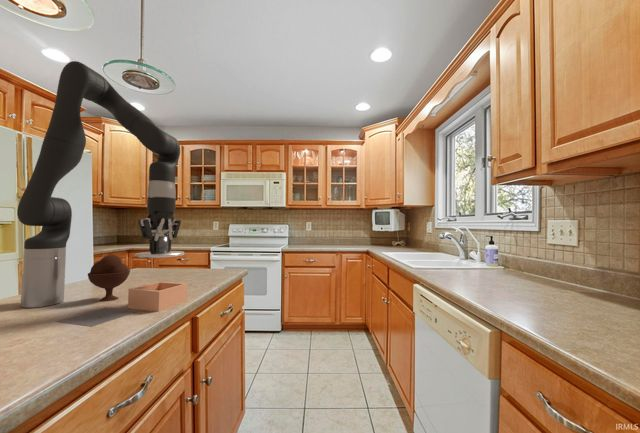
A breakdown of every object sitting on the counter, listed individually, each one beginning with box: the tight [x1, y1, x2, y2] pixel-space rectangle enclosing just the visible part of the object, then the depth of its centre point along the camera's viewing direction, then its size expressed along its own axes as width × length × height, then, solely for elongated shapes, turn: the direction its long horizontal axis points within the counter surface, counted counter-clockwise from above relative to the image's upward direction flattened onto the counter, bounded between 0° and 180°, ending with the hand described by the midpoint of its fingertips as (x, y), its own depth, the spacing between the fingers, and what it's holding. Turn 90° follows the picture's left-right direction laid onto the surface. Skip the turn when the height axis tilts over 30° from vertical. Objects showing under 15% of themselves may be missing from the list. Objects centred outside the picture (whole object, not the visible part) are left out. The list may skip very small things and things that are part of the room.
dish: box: [127, 281, 189, 312], centre depth 82 cm, size 11×11×6 cm
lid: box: [134, 235, 185, 259], centre depth 83 cm, size 13×13×6 cm
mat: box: [55, 307, 139, 328], centre depth 71 cm, size 12×12×1 cm
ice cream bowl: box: [87, 254, 131, 303], centre depth 88 cm, size 11×11×15 cm
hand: (160, 252), depth 83 cm, fingers closed on lid, 4 cm apart
